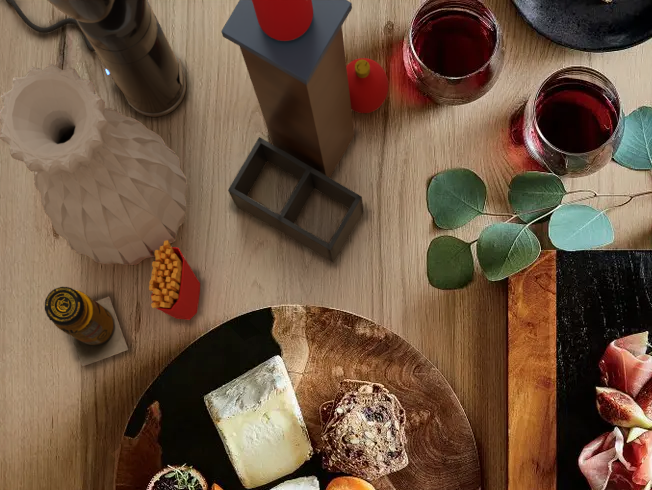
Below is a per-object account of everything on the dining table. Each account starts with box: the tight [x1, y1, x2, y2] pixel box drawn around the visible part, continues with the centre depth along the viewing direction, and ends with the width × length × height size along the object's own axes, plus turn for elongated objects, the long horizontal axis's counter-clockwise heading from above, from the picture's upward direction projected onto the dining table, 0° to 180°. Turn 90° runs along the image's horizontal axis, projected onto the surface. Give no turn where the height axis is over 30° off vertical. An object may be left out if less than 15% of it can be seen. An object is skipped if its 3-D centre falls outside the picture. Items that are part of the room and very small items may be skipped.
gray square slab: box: [221, 0, 353, 85], centre depth 91 cm, size 11×10×1 cm
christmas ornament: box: [346, 57, 389, 114], centre depth 117 cm, size 7×7×10 cm
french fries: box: [148, 240, 201, 321], centre depth 116 cm, size 9×4×13 cm, turn 173°
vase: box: [0, 63, 188, 266], centre depth 107 cm, size 20×20×30 cm
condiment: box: [44, 286, 129, 367], centre depth 116 cm, size 7×8×12 cm
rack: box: [227, 136, 365, 264], centre depth 119 cm, size 17×9×6 cm, turn 60°
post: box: [239, 25, 355, 178], centre depth 107 cm, size 9×8×30 cm
